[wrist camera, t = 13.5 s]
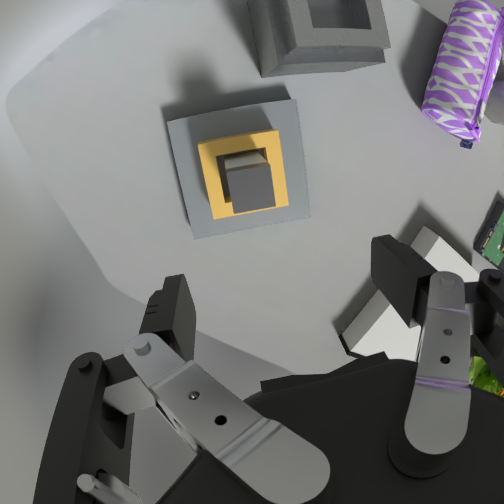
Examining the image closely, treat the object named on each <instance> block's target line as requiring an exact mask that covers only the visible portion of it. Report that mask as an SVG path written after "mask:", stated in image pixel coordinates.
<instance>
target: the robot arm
mask: <svg viewBox="0 0 504 504" xmlns="http://www.w3.org/2000/svg"><path fill="white" fill-rule="evenodd" d="M484 113H485V115H486V116H487V117H488V118H489V119H490V120H491V121H492V122H494V123H498V124H502V125H504V70H503V69H498V70H497V73H496V76H495V79H494V81H493V86H492V88H491V90H490V92H489V95H488V99H487V102H486V107H485V111H484ZM371 276H372V279H373V281H374V283H375V284H376V286H377V287H378V288H379V290H380V291H381V292H382V293H383V295H384V296H385V297H386V299H387V300H388V301H389V302H390V304H391V305H392V306H393V308H394V309H395V310H396V312H397V313H398V314H399V316H400V317H401V318H402V320H403V321H404V322H405V324H406V325H407V326H408V328H409V329H410V328H413V327H416V326H419V325H420V326H421V330H420V335H419V340H418V345H417V350H416V355H415V360H414V361H411V360H406V359H389V358H388V357H387V355H386V353H385V352H384V351H382V352H379V353H376V354H372V355H369V356H366V357H362V358H359V359H356V360H354V361H352V362H350V363H348V364H346V365H344V366H342V367H340V368H338V369H336V370H334V371H332V372H330V373H327V374H313V375H290V376H286V377H281V378H276V379H271V380H266V381H260V383H261V390H262V391H260V392H257V393H255V394H253V395H251V396H249V397H248V398H246V399H245V400H243V401H242V400H241V399H239V398H238V397H237V396H236V395H234V394H233V393H232V392H231V391H229V390H228V389H227V388H226V387H224V386H223V385H222V384H221V383H219V382H218V381H217V380H216V379H215V378H213V377H212V376H211V375H210V374H209V373H207V372H206V371H205V370H204V369H203V368H201V367H200V366H199V365H198V364H197V363H196V362H194V361H193V358H194V342H195V329H196V311H195V306H194V303H193V300H192V297H191V294H190V290H189V287H188V284H187V281H186V278H185V276H184V274H179V275H174V276H169V277H166V278H165V281H164V285H163V289H162V290H157V291H155V292H154V294H153V295H152V296H151V297H150V298H149V301H148V304H147V308H146V311H145V315H144V318H143V321H142V324H141V328H140V331H139V335H137V336H135V337H133V338H132V339H131V340H129V341H128V342H127V343H126V345H125V346H124V349H123V354H122V355H119V356H117V357H114V358H111V359H108V360H105V361H104V360H103V359H102V357H101V355H99V354H98V353H95V352H88V353H85V354H82V355H80V356H79V357H77V358H76V359H75V360H74V361H73V362H72V363H71V365H70V367H69V370H68V372H67V375H66V378H65V381H64V384H63V387H62V390H61V393H60V396H59V399H58V402H57V405H56V409H55V412H54V415H53V419H52V422H51V425H50V429H49V433H48V437H47V440H46V444H45V448H44V452H43V456H42V461H41V464H40V469H39V474H38V479H37V483H36V489H35V494H34V500H33V504H142V501H141V499H140V497H139V495H138V494H137V493H136V492H135V491H133V490H132V489H131V488H129V474H130V459H131V458H130V457H131V446H132V435H133V425H134V415H135V412H137V411H140V410H142V409H145V408H148V407H151V406H155V407H156V408H157V409H158V411H159V412H160V413H161V414H162V415H163V417H164V418H165V419H166V420H167V421H168V423H169V424H170V425H171V426H172V427H173V428H174V429H175V431H176V432H177V433H178V434H179V435H180V436H181V437H182V439H183V440H184V441H185V442H186V443H187V445H188V446H189V447H190V448H191V449H192V451H193V452H194V453H195V454H196V455H197V456H196V457H195V458H194V459H193V461H192V462H191V463H190V464H189V466H188V467H187V468H186V469H185V470H184V472H183V473H182V474H181V475H180V476H179V477H178V479H177V480H176V481H175V482H174V483H173V485H172V486H171V487H170V488H169V489H168V490H167V491H166V492H165V494H164V495H163V496H162V497H161V498H160V499H159V500H158V501H157V503H156V504H504V397H501V396H499V395H496V394H494V393H491V392H489V391H486V390H484V389H481V388H479V387H476V386H474V385H471V384H469V368H470V342H471V343H472V344H473V346H474V347H475V348H476V350H477V351H478V353H479V354H480V355H481V357H482V358H483V360H484V361H485V362H486V364H487V365H488V367H489V368H490V370H491V371H492V372H493V374H494V375H495V377H496V378H497V380H498V381H499V383H500V384H501V386H502V387H503V389H504V332H503V331H502V330H501V329H500V328H499V326H498V325H497V324H496V323H497V320H498V318H499V315H501V316H502V317H503V318H504V273H503V272H501V271H499V270H496V269H485V270H482V271H481V272H480V275H479V280H478V281H477V282H464V281H463V279H462V278H461V277H460V276H459V275H457V274H456V273H453V272H449V271H438V270H437V269H435V268H434V267H433V266H432V265H431V264H430V263H429V262H428V261H426V260H425V259H423V257H422V256H421V255H420V254H418V253H417V252H416V251H415V250H414V249H413V248H412V247H410V246H407V245H405V244H403V243H399V242H398V241H397V240H396V239H394V238H393V237H392V236H391V235H389V234H388V235H383V236H378V237H374V238H373V239H372V242H371Z"/></svg>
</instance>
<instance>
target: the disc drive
mask: <svg viewBox="0 0 504 504" xmlns="http://www.w3.org/2000/svg"><path fill="white" fill-rule="evenodd" d="M410 247H412V248H413V249H414V250H415V251H416V252H417V253H418V254H420V255H421V256H422V257H423V259H425V260H426V261H428V262H429V263H430V264H431V265H432V266H433V267H434V268H435V269H437V270H438V271H449V272H453V273H456V274H457V275H459V276H460V277H461V278H462V279H463V281H464V282H477V281H478V280H479V274H478V273H477V272H476V271H475V270H474V269H473V268H472V267H471V266H470V265H469V264H468V263H467V262H466V261H465V260H464V259H463V258H462V257H461V256H460V255H459V254H458V253H457V252H456V251H455V250H454V249H453V248H452V247H451V246H449V245H448V244H447V243H446V242H445V241H444V240H443V239H442V238H441V237H440V236H438V235H437V234H435V233H434V232H433V231H431V230H430V229H428V228H427V227H425V226H423V227H422V229H421V231H420V232H419V233H418V235H417V236H416V238H415V239H414V241H413V242H412V244H411V245H410ZM420 330H421V326H420V325H419V326H416V327H413V328H410V329H409V328H408V326H407V325H406V324H405V322H404V321H403V320H402V318H401V317H400V316H399V314H398V313H397V312H396V310H395V309H394V308H393V306H392V305H391V304H390V302H389V301H388V300H387V299H386V297H385V296H384V295H383V293H382V292H381V291H380V290H379V289H378V290H377V292H376V293H375V294H374V296H373V297H372V298H371V299H370V301H369V302H368V303H367V304H366V306H365V307H364V308H363V309H362V311H361V312H360V313H359V314H358V316H357V317H356V318H355V319H354V320H353V322H352V323H351V324H350V325H349V326H348V328H347V329H346V330H345V331H344V332H343V333H342V334H340V335H339V339H340V341H341V343H342V345H343V347H344V349H345V351H346V353H347V355H349V356H352V357H355V358H358V359H359V358H362V357H366V356H369V355H372V354H376V353H379V352H382V351H384V352H385V353H386V355H387V357H388V358H389V359H406V360H411V361H414V360H415V355H416V350H417V345H418V340H419V335H420Z"/></svg>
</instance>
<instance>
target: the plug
mask: <svg viewBox="0 0 504 504" xmlns="http://www.w3.org/2000/svg"><path fill="white" fill-rule="evenodd" d="M224 160H225V168H226V175H227V180H228V186H229V191H230V196H231V202H232V207H233V212H234V214H237V213H242V212H248V211H253V210H259V209H264V208H270V207H276V202H275V194H274V187H273V180H272V173H271V166H270V164H269V163H268V162H267V161H266V160H265V159H264V158H263V157H262V156H261V155H260V154H259V153H258V152H257V151H255V152H249V153H243V154H237V155H231V156H226V157H224Z"/></svg>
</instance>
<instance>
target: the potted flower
mask: <svg viewBox="0 0 504 504" xmlns="http://www.w3.org/2000/svg"><path fill="white" fill-rule="evenodd" d="M479 355H480V354H479ZM469 380H471V383H473V385H474V386H476V387H479V388H481V389H484V390H486V391H489V392H491V393H494V394H496V395H499V396H501V397H504V389H503V387H502V386H501V384H500V383H499V381H498V380H497V378H496V377H495V375H494V374H493V372H492V371H491V370H490V368H489V367H488V365H487V364H486V362H485V361H484V360H483V358H482V357H481V355H480V357H478V356H474V357H473V362H472V365H471V368H470V370H469Z"/></svg>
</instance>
